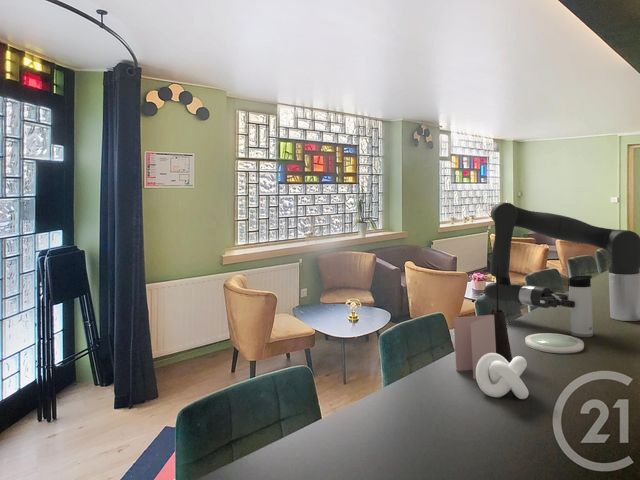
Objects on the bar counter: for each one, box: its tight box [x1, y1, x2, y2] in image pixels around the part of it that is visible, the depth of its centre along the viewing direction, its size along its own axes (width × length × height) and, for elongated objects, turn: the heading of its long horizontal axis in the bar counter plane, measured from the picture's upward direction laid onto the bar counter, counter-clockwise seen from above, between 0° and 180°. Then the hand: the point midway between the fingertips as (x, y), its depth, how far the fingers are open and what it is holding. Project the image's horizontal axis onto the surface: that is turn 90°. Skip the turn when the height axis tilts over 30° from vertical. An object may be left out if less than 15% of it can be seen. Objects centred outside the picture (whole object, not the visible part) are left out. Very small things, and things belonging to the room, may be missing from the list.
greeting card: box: [453, 314, 496, 380], centre depth 108 cm, size 11×7×15 cm, turn 92°
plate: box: [524, 332, 585, 354], centre depth 126 cm, size 16×16×2 cm
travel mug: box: [568, 274, 594, 338], centre depth 134 cm, size 6×7×20 cm
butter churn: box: [489, 266, 513, 363], centre depth 117 cm, size 9×10×28 cm
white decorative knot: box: [475, 353, 529, 400], centre depth 94 cm, size 11×12×9 cm
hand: (581, 302), depth 133 cm, fingers open, 8 cm apart
